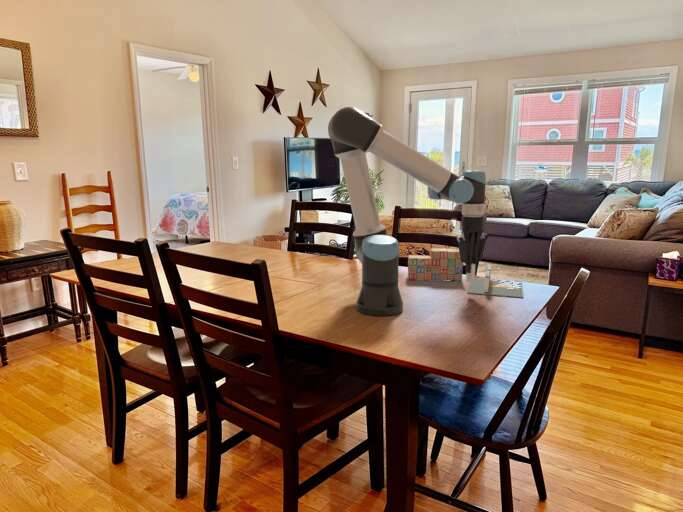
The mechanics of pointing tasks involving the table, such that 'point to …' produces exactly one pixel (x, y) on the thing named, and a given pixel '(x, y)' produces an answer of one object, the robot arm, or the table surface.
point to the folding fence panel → (487, 279)
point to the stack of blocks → (436, 265)
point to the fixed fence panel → (489, 266)
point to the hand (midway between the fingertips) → (470, 281)
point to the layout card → (494, 288)
